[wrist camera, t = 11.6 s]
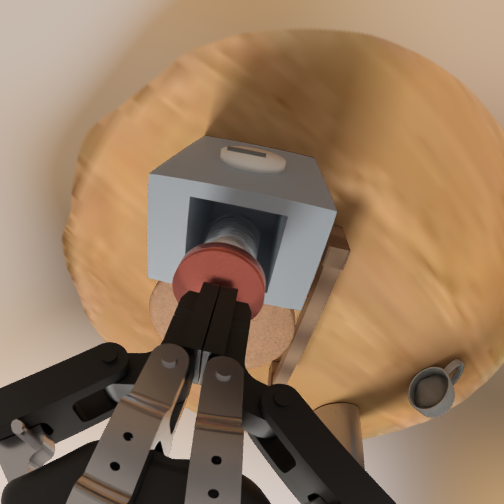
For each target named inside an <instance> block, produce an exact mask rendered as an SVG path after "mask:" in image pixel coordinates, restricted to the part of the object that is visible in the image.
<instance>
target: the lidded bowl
mask: <svg viewBox="0 0 504 504" xmlns="http://www.w3.org/2000/svg"><path fill="white" fill-rule="evenodd" d="M177 306H178V302H177V300H176V299H175V296H174V294H173V289H172V284H171V283H167V282H163V281H158V283H157V284H156V286H155V288H154V290H153V292H152V295H151V299H150V314H151V319H152V322H153V324H154V326H155V328H156V330H157V332H158V333H159V335H160V336H161V337H162V339H164V337H165V334H166V332H167V329H168V327H169V325H170V322H171V320H172V317H173V315H174V313H175V310H176V308H177ZM294 332H295V313H294V309H288V308H283V307H278V306H273V305H267V304H263V306H262V309H261V310H260V312H259V313H258V314H257V316H256V317H254V318H253V319H252V320H251V322H250V329H249V336H248V343H247V349H246V356H245V367H246V369H251V368H256V367H259V366H263V365H265V364H267V363H269V362H271V361H273V360H275V359H276V358H278V357H279V356H280V355H281V354H282V353H283V352H285V350H286V349H287V348H288V347H289V345H290V343H291V341H292V339H293V337H294Z"/></svg>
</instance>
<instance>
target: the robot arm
mask: <svg viewBox="0 0 504 504" xmlns="http://www.w3.org/2000/svg"><path fill="white" fill-rule="evenodd" d="M220 287H221V290H220ZM237 294H238V289H237V288H232V287H227V286H223V285H222V286H221V285H218V284H213V283H209V282H203V284H202V287H201V290H200V292H199V293H198V292H194V291H190V290H189V291H188V292H187V293H186V294H184V295H183V296H182V297H181V299H180V301H179V303H178V306H177V308H176V310H175V313H174V315H173V317H172V320H171V322H170V325H169V327H168V329H167V332H166V334H165V337H164V339H163V341H162V343H161V345H159V346H157V347H156V348H155V349H154V350H153V351H151V352H148V353H127V351H126V350H125V349H124V348H123V347H122V346H121V345H119V344H117V343H112V342H108V343H103V344H100V345H98V346H96V347H94V348H92V349H90V350H87V351H85V352H83V353H80V354H79V355H76V356H74V357H72V358H69V359H67V360H65V361H62V362H60V363H58V364H55V365H53V366H51V367H49V368H46V369H44V370H42V371H40V372H37V373H35V374H33V375H30V376H28V377H26V378H23V379H21V380H19V381H16V382H14V383H11V384H9V385H7V386H5V387H2V388H0V464H1V467H2V469H3V471H4V474H5V476H6V478H7V480H8V484H7V485H6V487H5V488H4V490H3V493H2V499H1V504H271V503H270V502H269V500H268V499H267V498H266V496H265V495H264V493H263V492H262V491H261V489H260V488H259V487H258V486H257V485H256V484H255V483H254V482H253V481H251V480H250V479H249V478H247V477H246V476H244V475H242V461H243V439H244V431H246V432H248V434H249V436H250V438H251V439H252V441H253V442H254V443H255V445H256V446H257V448H258V449H259V450H260V452H261V453H262V455H263V456H264V457H265V459H266V460H267V461H268V463H269V464H270V465H271V467H272V468H273V469H274V471H275V472H276V473H277V474H278V476H279V477H280V478H281V480H282V481H283V482H284V483H285V485H286V486H287V487H288V489H289V490H290V491H291V492H292V493H293V495H294V496H295V497H296V498H297V500H298V501H299V502H300V503H301V504H396V503H395V502H394V501H393V500H392V499H391V497H390V496H389V495H388V494H387V493H386V492H385V491H384V490H383V489H382V488H381V487H380V486H379V485H378V484H377V483H376V482H375V481H374V480H373V478H372V477H371V476H369V474H368V473H367V472H366V471H365V468H364V455H363V443H362V433H361V423H360V415H359V409H358V407H357V406H355V405H353V404H349V403H334V404H329V405H325V406H322V407H320V408H318V409H316V410H315V411H313V410H312V409H311V408H310V406H309V405H308V404H307V403H306V402H305V400H304V399H303V398H302V397H301V396H300V394H299V393H298V392H297V391H296V390H295V389H294V388H293V387H291V386H289V385H286V384H273V385H270V386H268V385H265V384H263V383H261V382H259V381H257V380H256V379H254V378H253V377H252V376H251V375H250V374H249V373H248V371H247V370H246V367H245V356H246V349H247V343H248V336H249V329H250V322H251V315H252V312H251V309H250V307H249V304H248V303H244V302H239V301H236V298H237ZM200 374H201V375H200ZM199 378H200V385H201V391H200V398H199V404H198V411H197V417H196V422H195V429H194V435H193V443H192V449H191V457H190V460H187V459H171V458H169V457H168V456H169V453H170V450H171V446H172V441H173V437H174V434H175V431H176V428H177V426H178V423H179V420H180V418H181V415H182V412H183V410H184V407H185V404H186V402H187V398H188V395H189V392H190V389H191V385H192V383H195V384H198V382H199ZM109 417H111V418H110V420H109V422H108V424H107V426H106V428H105V430H104V432H103V434H102V436H101V438H100V440H97V441H93V442H90V443H87V444H85V445H83V446H81V447H79V448H78V449H76V450H74V451H72V452H70V453H68V454H66V455H64V456H62V457H60V458H58V459H56V460H54V461H52V462H50V463H48V464H46V465H44V463H45V462H47V461H48V460H50V459H51V458H52V456H53V455H54V451H55V443H58V442H60V441H62V440H64V439H66V438H69V437H71V436H73V435H75V434H77V433H79V432H81V431H83V430H85V429H87V428H89V427H91V426H94V425H95V424H98V423H100V422H102V421H103V420H105V419H107V418H109ZM43 465H44V466H43Z"/></svg>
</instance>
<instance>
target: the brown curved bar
mask: <svg viewBox="0 0 504 504" xmlns="http://www.w3.org/2000/svg"><path fill="white" fill-rule="evenodd" d="M349 254H350V248H349V245H348V242H347V239H346V237H345V234H344V231H343V229H342V227H339V226H334V225H333V226H332V229H331V232H330V234H329V237H328V240H327V243H326V246H325V249H324V251H323V254H322V257H321V262H320V264H319V267H318V270H317V272H316V275H315V278H314V280H313V283H312V286H311V288H310V291H309V293H308V296H307V298H306V301H305V303H304V306H303V308H302V311H301V313H300V316H299V318H298V321H297V323H296V326H295V332H294V337H293V339H292V341H291V343H290V345H289V347H288V348H287V349H286V350H285V352H284V354H283V356H282V358H281V361H280V362H276V361H272V363H271V366H270V368H269V378H268V386H270V385H273V384H287V382H288V380H289V378H290V376H291V374H292V372H293V370H294V368H295V367H296V365H297V363H298V361H299V359H300V357H301V355H302V353H303V351H304V349H305V347H306V345H307V343H308V341H309V339H310V337H311V335H312V332H313V330H314V328H315V326H316V324H317V322H318V320H319V318H320V316H321V313H322V311H323V309H324V307H325V305H326V302H327V300H328V298H329V296H330V293H331V291H332V289H333V287H334V284H335V282H336V280H337V277H338V275H339V273H340V270H343V268H344V266H345V264H346V261H347V259H348V256H349Z"/></svg>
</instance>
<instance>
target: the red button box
mask: <svg viewBox="0 0 504 504" xmlns="http://www.w3.org/2000/svg"><path fill="white" fill-rule="evenodd" d="M226 213H240V214H244V215H246V216H248V217H249V218H251V219H252V220H253V221H254V222H255V223H256V225H257V226H258V229H259V232H260V241H259V248H258V254H257V261H258V262H259V264H260V265H261V267H262V269H263V271H264V274H265V280H266V287H265V297H264V303H263V304H267V305H273V306H278V307H283V308H288V309H294V310H299V311H301V309H302V307H303V304H304V302H305V299H306V297H307V294H308V291H309V289H310V286H311V284H312V281H313V278H314V276H315V273H316V270H317V268H318V265H319V262H320V260H321V257H322V254H323V251H324V249H325V246H326V243H327V240H328V237H329V234H330V232H331V229H332V226H333V223H334V220H335V217H336V214H337V210H336V207H335V205H334V202H333V200H332V197H331V195H330V192H329V190H328V188H327V185H326V183H325V181H324V178H323V176H322V174H321V171H320V169H319V167H318V165H317V162H316V160H315V158H313V157H309V156H305V155H300V154H296V153H292V152H288V151H283V150H279V149H274V148H270V147H265V146H260V145H255V144H250V143H244V142H239V141H234V140H228V139H222V138H216V137H210V136H203V137H202V138H200V139H199V140H197V141H195V142H194V143H192V144H191V145H189V146H188V147H186V148H185V149H183V150H182V151H180V152H179V153H177V154H176V155H174V156H173V157H172V158H170V159H169V160H167V161H166V162H164V163H163V164H162V165H160V166H159V167H157V168H156V169H155V170H153V171H152V172H150V173H149V186H148V223H147V246H148V278H151V279H155V280H159V281H163V282H167V283H171V284H172V281H173V276H174V274H175V272H176V270H177V268H178V266H179V264H180V262H181V260H182V258H183V257H184V256H185V254H186V253H187V252H188V251H190V250H191V249H192V248H194V247H196V246H198V245H201V244H203V243H204V241H205V239H206V237H207V235H208V233H209V231H210V229H211V227H212V225H213V223H214V221H215V220H216V219H217V218H218V217H220V216H221V215H224V214H226Z"/></svg>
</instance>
